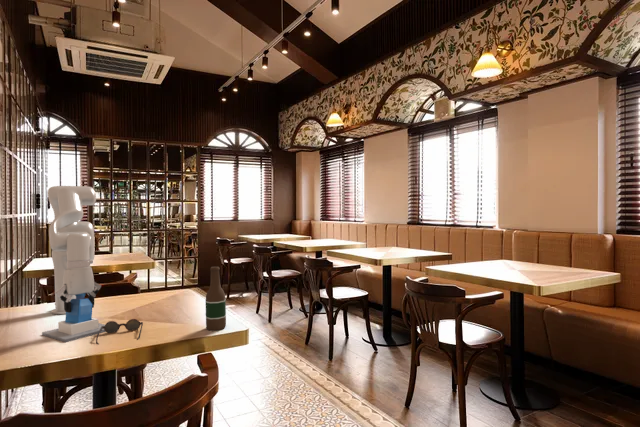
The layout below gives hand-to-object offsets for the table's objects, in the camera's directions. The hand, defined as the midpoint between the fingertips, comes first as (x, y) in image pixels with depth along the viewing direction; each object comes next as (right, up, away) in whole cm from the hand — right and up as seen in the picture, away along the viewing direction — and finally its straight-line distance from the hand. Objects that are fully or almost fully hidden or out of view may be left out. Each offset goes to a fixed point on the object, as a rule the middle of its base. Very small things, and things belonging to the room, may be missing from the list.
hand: (79, 309), depth 157 cm
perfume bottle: (0, -5, 0) cm, 5 cm away
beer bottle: (+53, -8, +1) cm, 54 cm away
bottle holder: (0, -9, 0) cm, 9 cm away
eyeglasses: (+19, -9, -7) cm, 22 cm away
